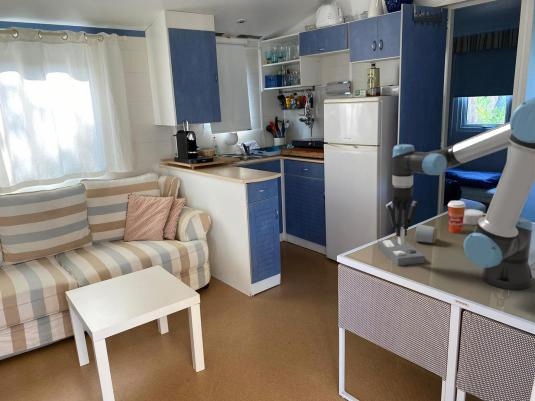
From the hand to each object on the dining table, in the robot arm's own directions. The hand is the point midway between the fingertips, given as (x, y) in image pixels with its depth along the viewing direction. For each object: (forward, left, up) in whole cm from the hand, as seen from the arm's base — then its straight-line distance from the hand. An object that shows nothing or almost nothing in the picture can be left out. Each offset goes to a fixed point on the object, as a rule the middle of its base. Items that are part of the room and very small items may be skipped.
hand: (401, 243), depth 163 cm
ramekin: (+36, -53, -8) cm, 64 cm away
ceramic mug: (+19, -20, -8) cm, 29 cm away
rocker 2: (+2, 0, -5) cm, 5 cm away
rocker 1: (+12, 0, -5) cm, 13 cm away
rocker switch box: (+7, -3, -8) cm, 11 cm away
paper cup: (+26, -39, -8) cm, 47 cm away
